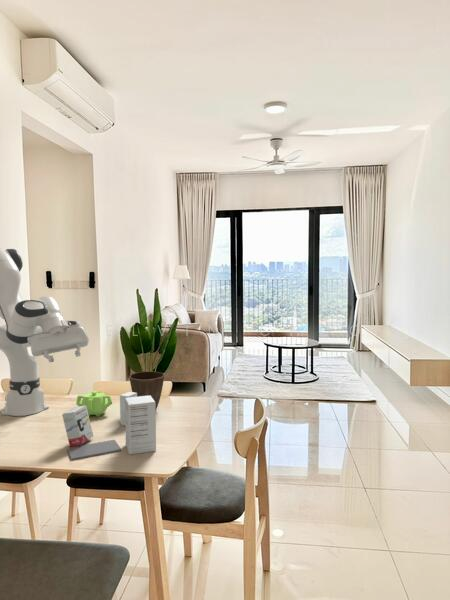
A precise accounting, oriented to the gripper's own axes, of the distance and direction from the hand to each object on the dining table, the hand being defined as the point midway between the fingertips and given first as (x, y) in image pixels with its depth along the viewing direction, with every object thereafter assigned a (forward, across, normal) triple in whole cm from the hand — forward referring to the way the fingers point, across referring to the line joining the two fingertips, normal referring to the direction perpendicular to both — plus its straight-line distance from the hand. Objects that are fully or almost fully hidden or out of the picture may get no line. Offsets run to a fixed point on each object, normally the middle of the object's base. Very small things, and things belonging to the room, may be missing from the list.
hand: (65, 358), depth 153 cm
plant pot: (+14, +32, +32) cm, 48 cm away
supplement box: (+39, +15, +7) cm, 43 cm away
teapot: (+6, +12, +36) cm, 39 cm away
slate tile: (+33, +1, +10) cm, 35 cm away
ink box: (+26, 0, +15) cm, 30 cm away
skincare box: (+20, +21, +25) cm, 38 cm away
